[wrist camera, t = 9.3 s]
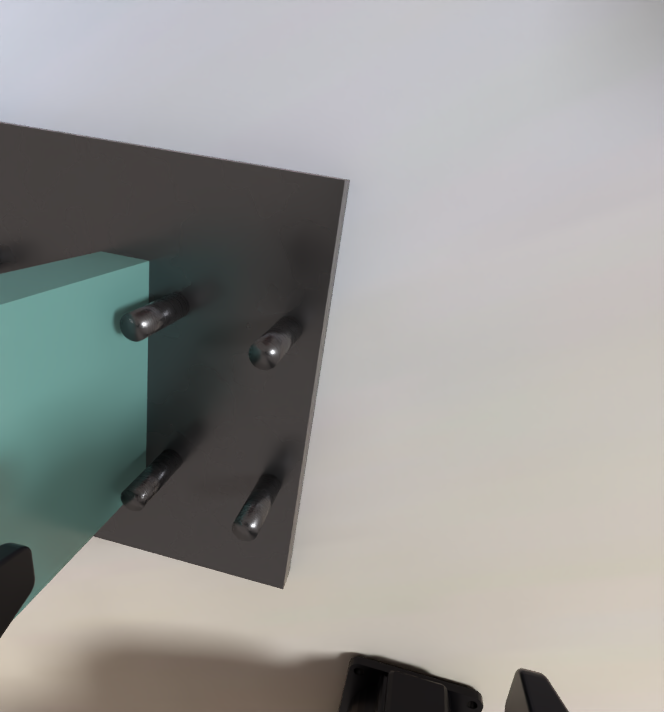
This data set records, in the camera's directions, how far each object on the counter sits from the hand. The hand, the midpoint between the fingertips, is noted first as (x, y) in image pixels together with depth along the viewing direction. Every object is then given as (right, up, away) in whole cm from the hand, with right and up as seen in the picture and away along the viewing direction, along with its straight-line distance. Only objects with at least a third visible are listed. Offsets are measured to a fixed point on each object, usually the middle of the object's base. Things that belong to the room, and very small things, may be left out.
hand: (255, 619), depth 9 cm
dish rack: (-7, +4, +13) cm, 15 cm away
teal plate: (-7, +4, +12) cm, 15 cm away
